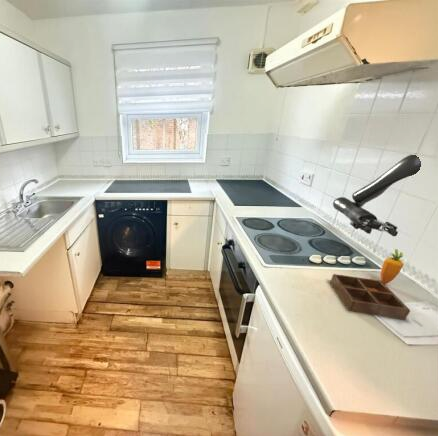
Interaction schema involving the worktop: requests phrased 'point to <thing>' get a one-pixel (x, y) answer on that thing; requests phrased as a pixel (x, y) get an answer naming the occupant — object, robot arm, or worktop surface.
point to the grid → (369, 297)
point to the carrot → (391, 267)
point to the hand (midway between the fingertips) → (382, 233)
